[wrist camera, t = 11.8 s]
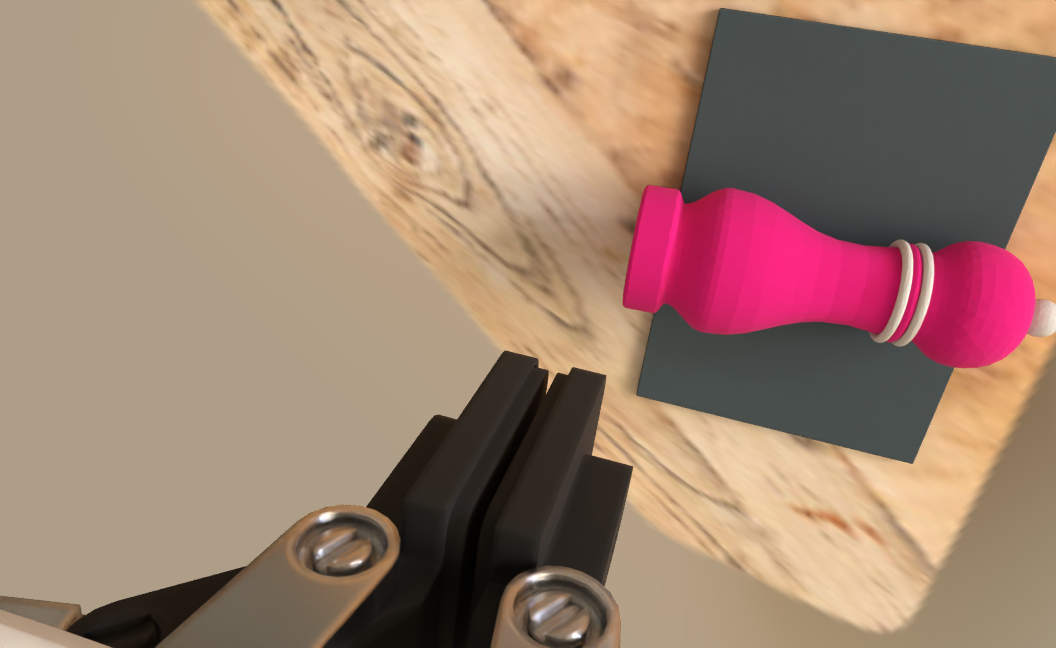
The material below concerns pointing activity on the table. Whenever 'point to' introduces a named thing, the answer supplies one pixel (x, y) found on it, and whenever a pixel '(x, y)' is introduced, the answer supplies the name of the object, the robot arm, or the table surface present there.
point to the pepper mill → (826, 279)
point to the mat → (850, 206)
